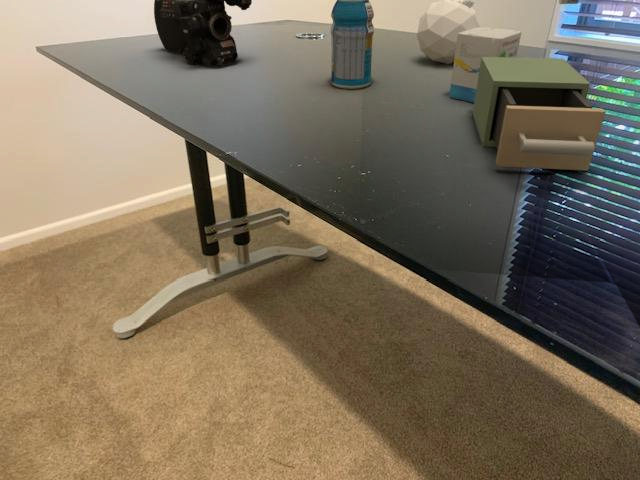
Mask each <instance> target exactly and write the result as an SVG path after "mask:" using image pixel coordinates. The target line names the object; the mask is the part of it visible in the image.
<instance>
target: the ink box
mask: <svg viewBox="0 0 640 480" xmlns="http://www.w3.org/2000/svg"><path fill="white" fill-rule="evenodd" d="M521 37H522V31H519V30H514V29H506V28H498V27H492V26H490V27H489V26H487V27H484V26H480V27H477V28H473V29H470V30H467V31H463V32H460V33H458V36H457V43H456V51H455V58H454V62H453V65H452V66H453V67H452V74H451V80H450V87H449V95H448V97H449V98H451V99H457V100H460V101H461V100H462V101H466V102H470V103H473V104H474V103H475V96H476V90H477V83H478V77H479V70H480V64H481V57H511V58H518V53H519V47H520V43H521Z"/></svg>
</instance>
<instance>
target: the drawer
mask: <svg viewBox="0 0 640 480" xmlns="http://www.w3.org/2000/svg"><path fill="white" fill-rule="evenodd" d="M605 116H606V110H605V109H604V108H597V107H596V108H595V107H593V106H592V105H591V103H590V102H589V101H588V100H587V98H586V99H585V98H584V97H583V96H582V95H581V94H580V93H579V92H578V91H577V90H576V89H561V88H527V87H499V88H498V93H497V99H496V105H495V110H494V116H493V122H492V127H491V134H492V137H493V140H494V142H495V145H496V147H495V148H496V150H497V153H496V158H495V165H496V167H505V168H523V169H524V168H527V169H546V170H547V169H548V170H567V171H568V170H569V171H586V172H587V171H589V169H590V166H591V162H592V159H593V156H594V152H595V149H596V145H597V142H598V139H599V135H600V132H601V129H602V125H603V122H604V119H605Z"/></svg>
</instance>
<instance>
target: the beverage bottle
mask: <svg viewBox="0 0 640 480" xmlns="http://www.w3.org/2000/svg"><path fill="white" fill-rule="evenodd" d="M330 17H331V19H332V23H331V26H330V36H331V38H330V40H331V45H330V46H331V47H330V48H331V77H330V81H331V82H330V83H331V84H332V85H333V87H336V88H340V89H344V90H345V89H346V90H358V89H363V88H367V87H369V85H371V83H372V57H373V56H372V55H373V36H374V33H375V26H374V24H373V19H374V17H375V13H374V8H373V6H372V4H371V2H370V0H336V1H335V3H334V5H333V6H332V9H331V14H330Z"/></svg>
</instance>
